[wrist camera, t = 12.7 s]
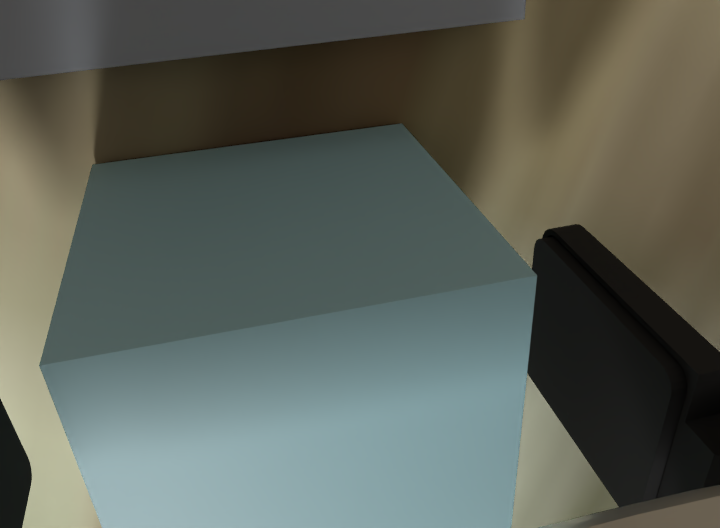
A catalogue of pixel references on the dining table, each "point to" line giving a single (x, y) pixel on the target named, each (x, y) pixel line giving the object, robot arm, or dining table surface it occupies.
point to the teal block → (291, 340)
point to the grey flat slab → (208, 27)
